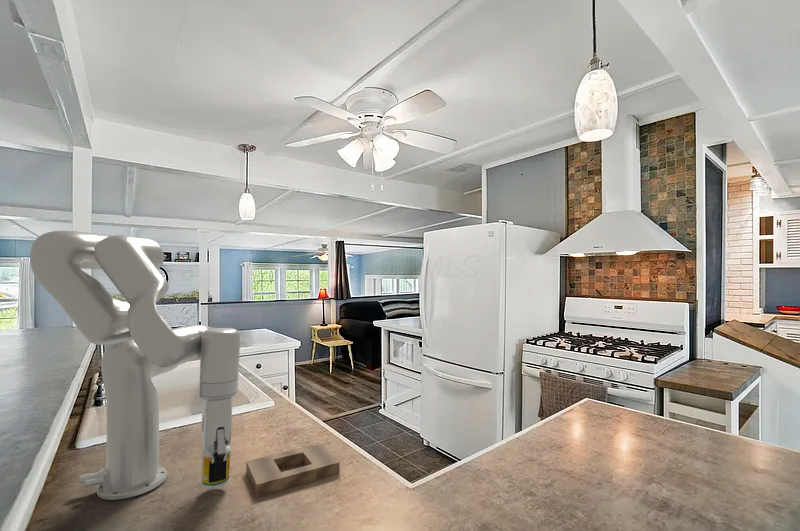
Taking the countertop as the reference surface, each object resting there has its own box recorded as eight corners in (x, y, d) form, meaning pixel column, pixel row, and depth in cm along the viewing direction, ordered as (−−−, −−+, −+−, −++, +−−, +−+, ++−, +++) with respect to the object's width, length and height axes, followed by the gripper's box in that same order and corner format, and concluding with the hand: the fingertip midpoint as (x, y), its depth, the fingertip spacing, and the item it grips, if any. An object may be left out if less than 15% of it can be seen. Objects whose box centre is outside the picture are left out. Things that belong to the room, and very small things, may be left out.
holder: (256, 497, 80) (256, 484, 81) (246, 472, 91) (246, 461, 91) (339, 473, 90) (339, 462, 90) (321, 453, 100) (321, 443, 100)
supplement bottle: (198, 481, 84) (200, 435, 84) (224, 473, 87) (226, 429, 87) (204, 492, 79) (206, 444, 80) (232, 484, 83) (234, 438, 83)
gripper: (196, 379, 89) (193, 460, 89) (202, 401, 74) (198, 499, 74) (232, 375, 93) (229, 453, 93) (244, 396, 78) (241, 489, 78)
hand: (215, 472), depth 83 cm, fingers closed on supplement bottle, 5 cm apart
